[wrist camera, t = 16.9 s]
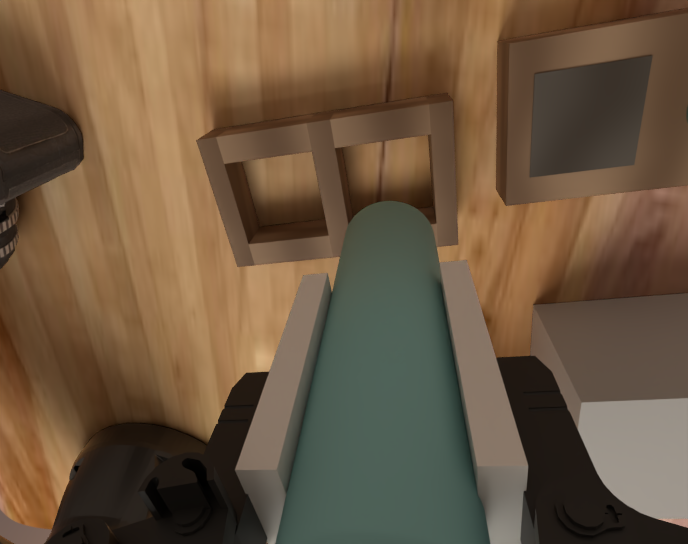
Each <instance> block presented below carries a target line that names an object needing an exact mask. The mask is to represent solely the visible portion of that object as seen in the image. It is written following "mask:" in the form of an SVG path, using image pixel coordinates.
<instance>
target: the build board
mask: <svg viewBox="0 0 688 544" xmlns="http://www.w3.org/2000/svg"><path fill="white" fill-rule="evenodd" d="M423 135H428V141H429V156H430V171H431V186H432V201H433V207H426V208H417V209H418V210H419V211H420V212H421V213H423V214H424V215H425V217H426V218H427V219H428V221H429V222H430V224H431V226H432V228H433V232H434V236H435V241H436V247H441V246H451V245H458V224H457V198H456V171H455V144H454V118H453V100H452V99H451V98H450V96H449V95H448V94H447V93H443V94H437V95H430V96H424V97H417V98H411V99H405V100H398V101H392V102H386V103H379V104H373V105H367V106H360V107H354V108H348V109H341V110H335V111H329V112H322V113H316V114H309V115H303V116H297V117H290V118H284V119H278V120H271V121H265V122H259V123H252V124H246V125H240V126H233V127H227V128H221V129H214V130H212V131H210V132H209V133H207V134H206V135H204V136H202V137H201V138H199V139H198V140H196V141H197V144H198V147H199V150H200V153H201V156H202V159H203V162H204V165H205V169H206V172H207V175H208V178H209V181H210V184H211V187H212V190H213V193H214V196H215V199H216V202H217V205H218V208H219V211H220V215H221V218H222V221H223V224H224V227H225V230H226V233H227V236H228V239H229V242H230V245H231V248H232V251H233V254H234V257H235V260H236V264H237V267H242V266H252V265H262V264H272V263H282V262H292V261H302V260H312V259H322V258H332V257H340V255H341V251H342V247H343V242H344V238H345V233H346V230H347V227H348V225H349V223H350V221H351V220H352V219H353V217H354V216H353V212H352V206H351V200H350V194H349V188H348V182H347V176H346V170H345V164H344V158H343V152H342V147H346V146H353V145H360V144H367V143H374V142H381V141H388V140H395V139H402V138H409V137H416V136H423ZM311 151H312V154H313V159H314V164H315V169H316V174H317V179H318V184H319V189H320V194H321V199H322V204H323V209H324V214H325V219H322V220H314V221H305V222H296V223H288V224H279V225H271V226H262V227H260V226H259V222H258V218H257V215H256V211H255V208H254V204H253V201H252V197H251V194H250V190H249V187H248V183H247V180H246V176H245V172H244V169H243V165H242V162H241V161H248V160H255V159H262V158H269V157H276V156H283V155H290V154H297V153H304V152H311Z"/></svg>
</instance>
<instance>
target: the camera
mask: <svg viewBox="0 0 688 544" xmlns="http://www.w3.org/2000/svg"><path fill="white" fill-rule="evenodd" d="M82 160H83V141H82V136H81V132H80V130H79V129H78V127H77V126H76V124H75V123H74V122H73V121H72V119H71V118H70V117H69V116H68V115H67V114H65V113H64V112H62V111H61V110H59V109H56V108H54V107H51V106H48V105H45V104H42V103H39V102H36V101H33V100H29V99H26V98H23V97H20V96H17V95H14V94H11V93H8V92H5V91H2V90H0V269H1V268H2V267H3V266H4V265H5V264H6V263H7V261H8V260H9V258H10V257H11V255H12V254H13V253H14V251H15V246H16V244H17V242H18V238H19V235H18V228H17V225H16V221H17V219H18V216H19V204H18V201H17V199H16V197H17V196H19V195H21V194H23V193H25V192H27V191H29V190H31V189H34V188H36V187H38V186H40V185H42V184H44V183H46V182H48V181H50V180H52V179H54V178H56V177H58V176H60V175H62V174H65V173H67V172H69V171H71V170H74V169H75V168H76V167H77V166H78V165H79V164H80V162H81V161H82Z"/></svg>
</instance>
